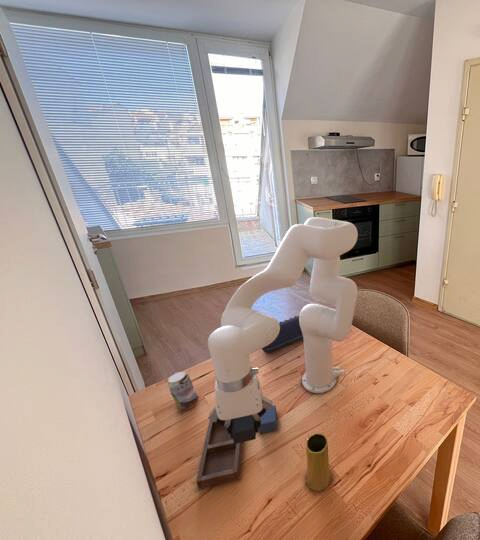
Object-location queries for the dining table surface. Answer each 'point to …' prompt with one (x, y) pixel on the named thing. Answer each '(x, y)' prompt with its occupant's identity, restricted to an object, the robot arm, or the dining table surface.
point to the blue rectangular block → (269, 421)
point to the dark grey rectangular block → (243, 429)
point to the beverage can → (182, 390)
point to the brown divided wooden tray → (218, 457)
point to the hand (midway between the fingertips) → (245, 429)
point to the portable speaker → (286, 334)
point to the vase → (317, 462)
